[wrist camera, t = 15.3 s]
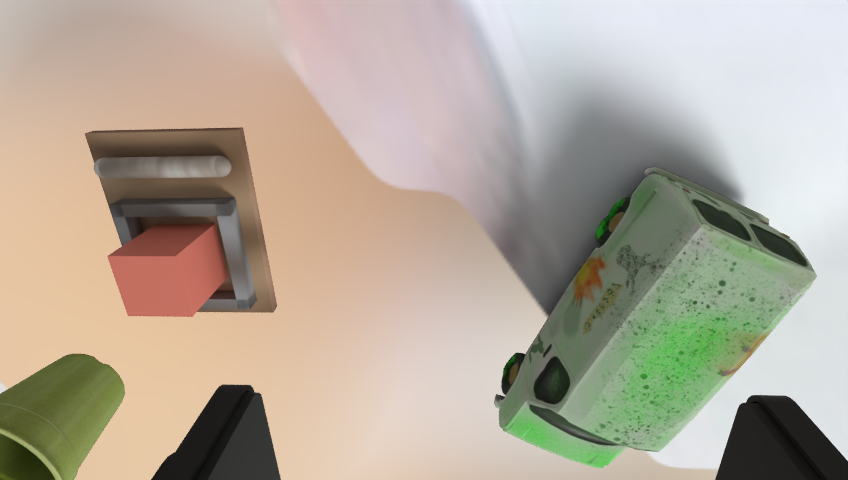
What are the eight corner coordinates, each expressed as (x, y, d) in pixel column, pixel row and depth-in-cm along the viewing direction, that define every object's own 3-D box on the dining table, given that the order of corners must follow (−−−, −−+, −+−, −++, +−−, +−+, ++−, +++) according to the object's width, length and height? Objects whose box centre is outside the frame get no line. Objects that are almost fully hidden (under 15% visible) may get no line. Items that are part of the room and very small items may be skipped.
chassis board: (93, 130, 37) (69, 138, 35) (242, 127, 36) (227, 135, 34) (150, 305, 44) (132, 321, 41) (277, 306, 43) (266, 322, 40)
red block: (156, 223, 39) (107, 256, 33) (215, 223, 38) (175, 256, 33) (172, 276, 41) (128, 315, 35) (227, 277, 41) (192, 316, 35)
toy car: (488, 386, 45) (496, 478, 36) (637, 153, 35) (700, 199, 26) (586, 424, 46) (618, 522, 37) (758, 209, 36) (858, 272, 27)
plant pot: (82, 312, 44) (-30, 399, 34) (171, 397, 48) (94, 498, 38) (7, 362, 48) (-116, 454, 38) (96, 438, 52) (7, 540, 41)
